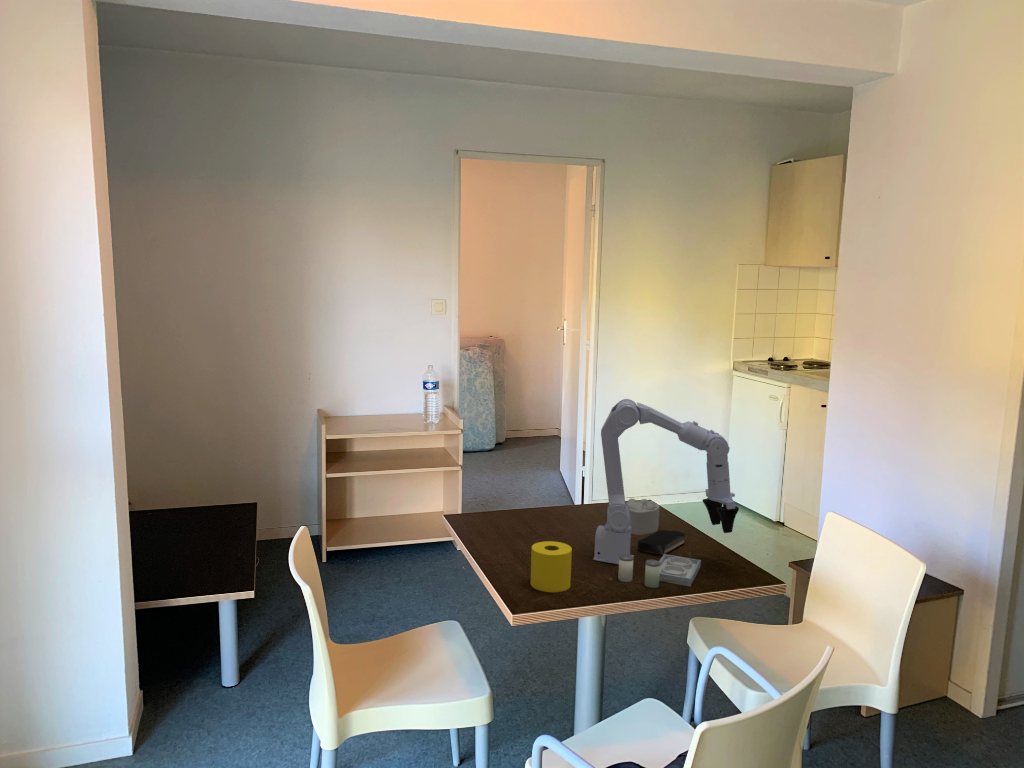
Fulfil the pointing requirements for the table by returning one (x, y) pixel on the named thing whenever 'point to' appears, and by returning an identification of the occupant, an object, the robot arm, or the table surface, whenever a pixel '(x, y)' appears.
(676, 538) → the black sponge
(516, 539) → the table surface
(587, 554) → the table surface
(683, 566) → the tray
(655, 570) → the pale green lidded jar
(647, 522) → the lumpy-topped squat cylinder
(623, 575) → the jaw peg ivory
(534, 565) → the yellow cylinder with hole
